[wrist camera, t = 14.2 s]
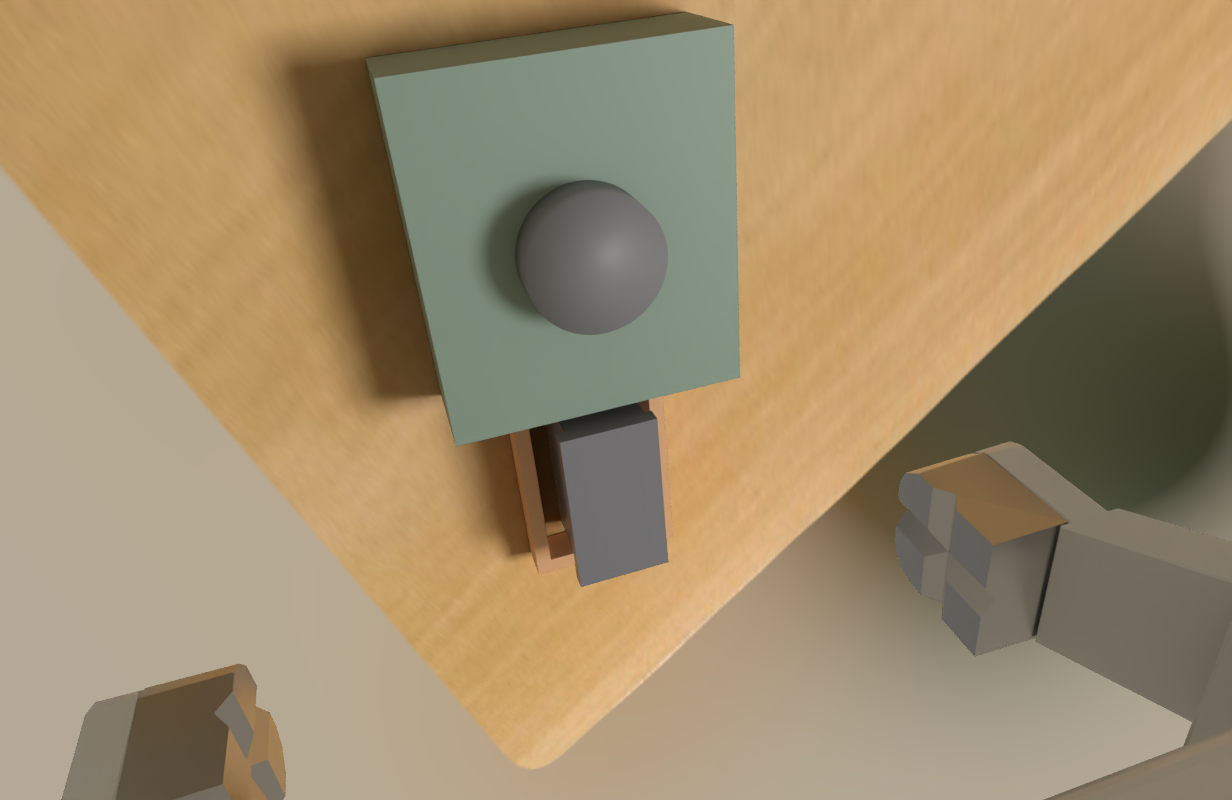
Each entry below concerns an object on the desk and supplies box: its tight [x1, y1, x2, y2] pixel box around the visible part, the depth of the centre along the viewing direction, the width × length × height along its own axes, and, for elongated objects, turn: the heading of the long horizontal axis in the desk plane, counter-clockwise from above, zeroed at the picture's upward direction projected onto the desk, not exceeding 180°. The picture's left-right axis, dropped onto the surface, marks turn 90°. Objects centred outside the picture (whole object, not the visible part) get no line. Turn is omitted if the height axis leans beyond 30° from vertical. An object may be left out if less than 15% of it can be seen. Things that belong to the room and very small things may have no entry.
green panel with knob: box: [365, 12, 740, 574], centre depth 41 cm, size 14×27×7 cm, turn 6°
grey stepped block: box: [546, 403, 668, 587], centre depth 45 cm, size 5×9×6 cm, turn 6°
